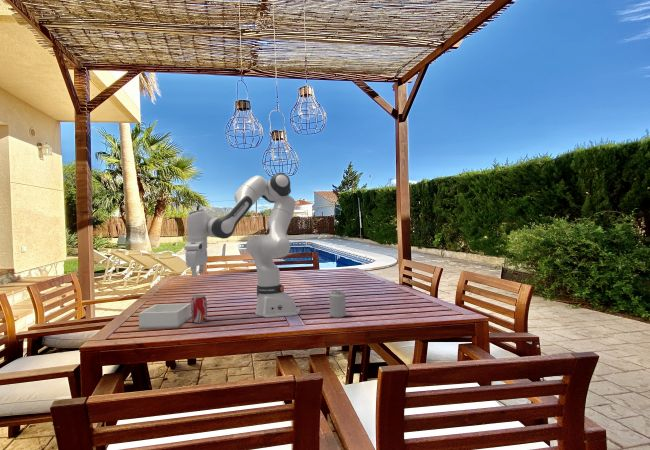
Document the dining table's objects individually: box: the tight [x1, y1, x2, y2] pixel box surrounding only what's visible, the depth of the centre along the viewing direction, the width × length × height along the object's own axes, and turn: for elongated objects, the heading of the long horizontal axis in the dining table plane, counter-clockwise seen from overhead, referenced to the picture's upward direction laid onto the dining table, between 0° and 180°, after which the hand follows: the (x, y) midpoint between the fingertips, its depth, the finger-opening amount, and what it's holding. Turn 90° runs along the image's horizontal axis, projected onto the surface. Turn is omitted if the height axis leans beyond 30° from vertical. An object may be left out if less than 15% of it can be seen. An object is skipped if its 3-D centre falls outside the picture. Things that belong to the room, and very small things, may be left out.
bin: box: [138, 302, 192, 330], centre depth 174 cm, size 17×17×7 cm
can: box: [329, 289, 347, 319], centre depth 179 cm, size 8×8×12 cm
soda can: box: [190, 294, 208, 324], centre depth 175 cm, size 7×7×12 cm
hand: (197, 274), depth 175 cm, fingers open, 8 cm apart
